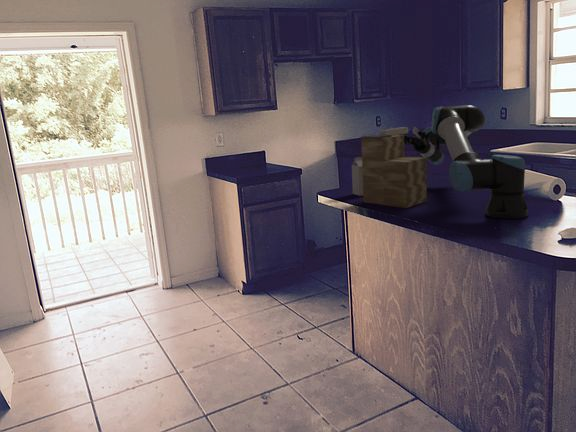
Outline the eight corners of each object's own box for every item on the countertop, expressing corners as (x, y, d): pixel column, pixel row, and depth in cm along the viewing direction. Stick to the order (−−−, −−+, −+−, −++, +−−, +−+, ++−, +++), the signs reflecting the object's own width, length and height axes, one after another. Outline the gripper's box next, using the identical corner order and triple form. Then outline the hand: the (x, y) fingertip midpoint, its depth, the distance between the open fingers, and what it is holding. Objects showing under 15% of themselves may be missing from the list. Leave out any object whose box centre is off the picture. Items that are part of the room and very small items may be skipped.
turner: (378, 138, 220) (378, 132, 219) (361, 138, 227) (361, 132, 226) (414, 132, 237) (414, 127, 236) (397, 132, 244) (397, 127, 243)
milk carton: (371, 194, 252) (370, 156, 247) (359, 196, 249) (358, 158, 245) (364, 192, 258) (363, 155, 254) (352, 194, 256) (351, 157, 251)
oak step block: (384, 196, 245) (383, 134, 238) (426, 201, 228) (426, 135, 221) (363, 202, 235) (361, 138, 228) (405, 208, 217) (404, 139, 211)
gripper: (443, 155, 243) (421, 136, 229) (401, 153, 261) (378, 136, 247) (448, 140, 244) (426, 122, 230) (405, 140, 262) (383, 122, 248)
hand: (401, 129), depth 239 cm, fingers open, 13 cm apart
